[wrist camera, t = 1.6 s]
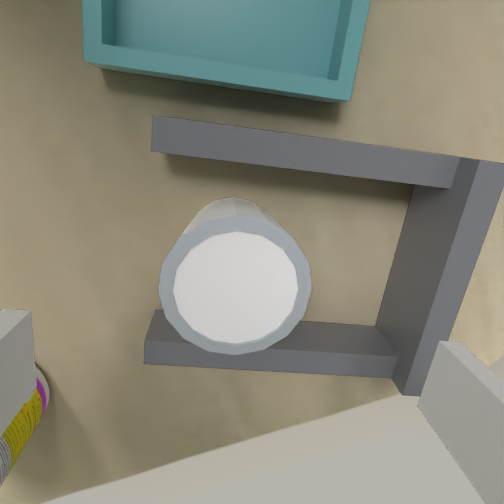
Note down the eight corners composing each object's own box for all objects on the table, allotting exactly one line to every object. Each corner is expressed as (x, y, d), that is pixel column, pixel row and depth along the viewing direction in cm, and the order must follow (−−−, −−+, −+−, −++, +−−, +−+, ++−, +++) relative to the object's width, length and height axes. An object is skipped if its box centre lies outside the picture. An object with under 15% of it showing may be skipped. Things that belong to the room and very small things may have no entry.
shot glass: (153, 241, 22) (123, 293, 15) (232, 162, 21) (237, 180, 14) (232, 310, 24) (235, 381, 17) (308, 241, 23) (343, 290, 16)
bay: (154, 331, 24) (138, 381, 19) (164, 116, 20) (145, 114, 15) (390, 347, 26) (427, 396, 21) (448, 155, 22) (511, 164, 17)
